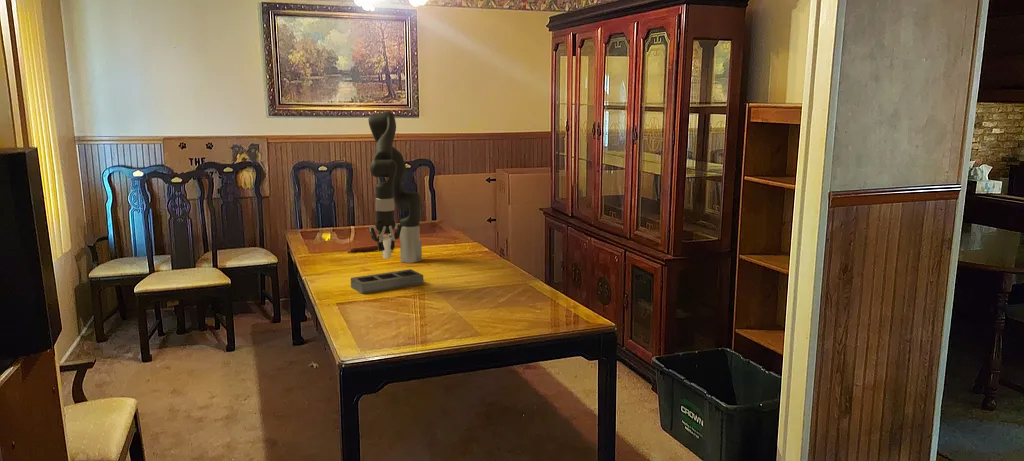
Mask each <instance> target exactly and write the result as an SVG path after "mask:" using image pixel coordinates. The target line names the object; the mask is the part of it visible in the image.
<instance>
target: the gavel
mask: <svg viewBox="0 0 1024 461" xmlns="http://www.w3.org/2000/svg"><path fill="white" fill-rule="evenodd" d="M376 251H379V250H378V248H377V245H370V246H360V247H353V248H351V249H348V250H347V251H346V252H347V253H351V254H357V253H358V254H359V253H366V252H367V253H368V252H376Z"/></svg>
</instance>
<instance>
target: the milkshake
mask: <svg viewBox="0 0 1024 461" xmlns="http://www.w3.org/2000/svg"><path fill="white" fill-rule="evenodd" d="M391 243H392V238H391V237H390V236H389V235H384V236H383V238H382V251H381V253H382V258H383V259H384V260H385V259H386V260H387V259H388V260H389V259H391V258H392V250H391Z"/></svg>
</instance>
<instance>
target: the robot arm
mask: <svg viewBox="0 0 1024 461" xmlns="http://www.w3.org/2000/svg"><path fill="white" fill-rule="evenodd" d="M368 126H369V128H370V129H369V130H370V132H371V134H372V136H373V138H374V140H375V147H374V157H373V159H372V161H371V163H370V167H369V171H370V175H372V176H373V177H374V178H388V179H387V180H386V181H383V182H379V183H377V184H376V185H375V203H374V204H375V224H374V225H373V226H369V227H368V230H369V234H370V236H371V239H372V241H374V242H377V243H376V244H377V245H376V246H377V248H378V250H377V251H379V252H382V238H383V236H385V235H387V236H390V237H391V238H392V243H391V251H394V249H395V247H396V246H395V241H396V240H399V243H400V244H399V246H400V262H401V263H407V264H408V263H409V264H410V263H411V264H412V263H418V262H421V261H423V257H422V256H423V253H422V252H423V251H422V250H423V249H422V248H423V247H422V241H421V239H420V238H421V236H420V232H421V230H420V220H421V206H422V205H421V196H420V194H419V193H418V192H416V191H405V190H404V187H403V179H404V178H405V175H406V173H407V172H406V171H407V166H406V163H405V160H404V156H403V154H402V152H400V151H399V150H397V148H396V147H394V146H393V145H394V140H395V136H396V131H397V130H396V129H397V121H396V118H395V116H394V114H393V112H392V111H384V112H378V113H375V114H371V115H369V116H368ZM395 206H396V208H397V209H398V210H399V211H403V212H409V214H408V215H407V216H406V217H403V218H400V220H399V223H396V222H395V220H396V219H395ZM394 229H395V230H394ZM376 231H377V234H376Z"/></svg>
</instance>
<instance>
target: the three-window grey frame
mask: <svg viewBox="0 0 1024 461" xmlns="http://www.w3.org/2000/svg"><path fill="white" fill-rule="evenodd" d="M421 285H424V274H422V273H420V272H418V271H415V270H414V269H410V268H409V269H404V270H402V269H401V270H395V271H389V272H383V273H382V272H381V273H374V274H368V275H361V276H354V277H350V288H351V289H353V290H355V291H357V292H358V293H360V294H361V295H365V294H371V293H376V292H383V291H389V290H396V289H402V288H409V287H414V286H415V287H416V286H421Z"/></svg>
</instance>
